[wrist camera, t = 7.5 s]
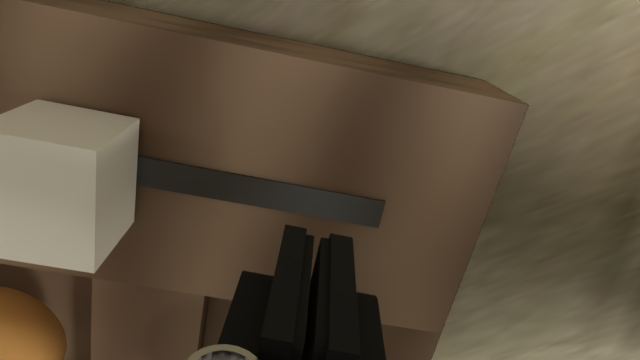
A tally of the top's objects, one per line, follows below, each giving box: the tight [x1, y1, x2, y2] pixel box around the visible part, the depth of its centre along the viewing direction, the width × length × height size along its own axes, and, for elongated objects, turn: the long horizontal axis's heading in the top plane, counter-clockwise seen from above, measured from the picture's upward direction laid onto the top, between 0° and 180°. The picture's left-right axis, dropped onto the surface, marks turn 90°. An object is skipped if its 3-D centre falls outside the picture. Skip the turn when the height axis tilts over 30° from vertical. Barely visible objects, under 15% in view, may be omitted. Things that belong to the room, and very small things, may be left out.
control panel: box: [0, 0, 529, 360], centre depth 18 cm, size 22×16×4 cm
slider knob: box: [0, 99, 140, 273], centre depth 13 cm, size 3×4×3 cm
